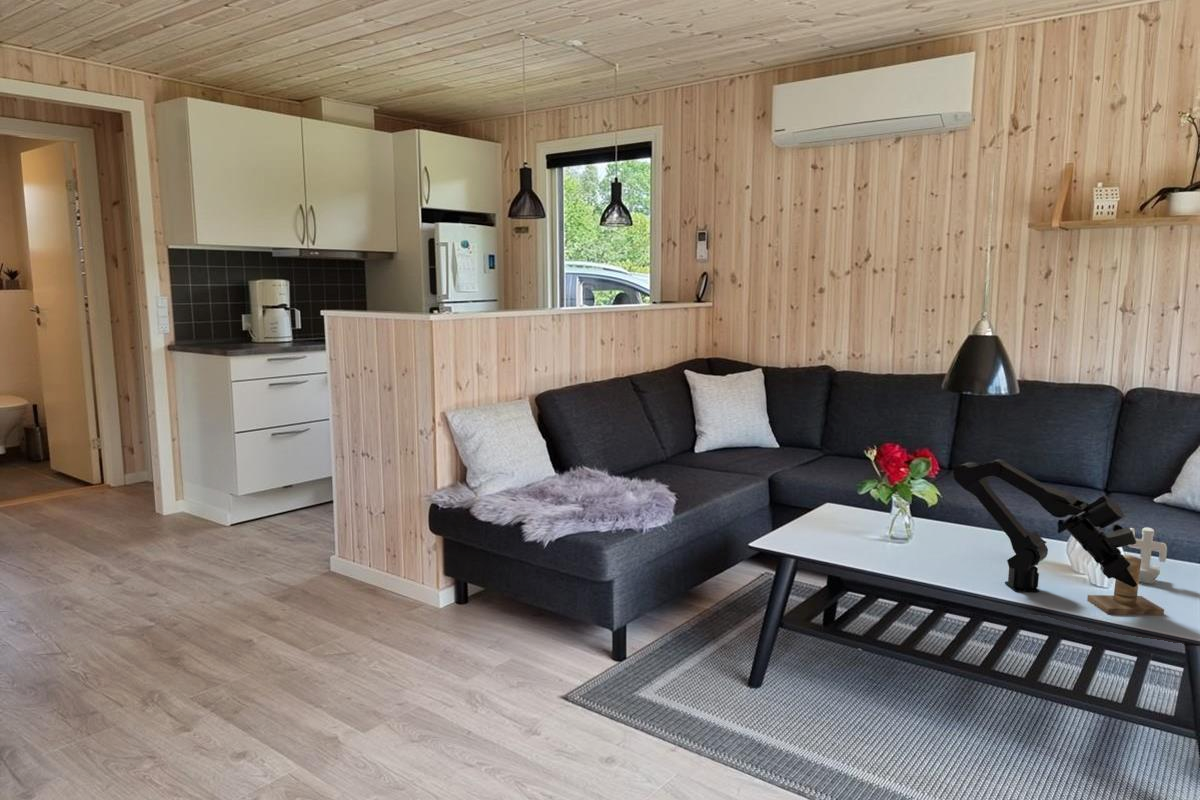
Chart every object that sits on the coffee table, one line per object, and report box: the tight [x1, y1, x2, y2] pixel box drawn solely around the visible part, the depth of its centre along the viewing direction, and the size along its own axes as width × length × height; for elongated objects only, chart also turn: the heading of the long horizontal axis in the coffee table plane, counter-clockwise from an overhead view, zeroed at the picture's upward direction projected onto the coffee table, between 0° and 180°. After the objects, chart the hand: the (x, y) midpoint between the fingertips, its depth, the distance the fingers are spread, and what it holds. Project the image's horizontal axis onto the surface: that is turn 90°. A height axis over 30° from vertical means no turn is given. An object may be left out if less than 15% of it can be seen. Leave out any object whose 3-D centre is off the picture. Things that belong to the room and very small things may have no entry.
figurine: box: [1127, 526, 1168, 585], centre depth 230 cm, size 7×9×15 cm
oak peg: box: [1113, 554, 1141, 606], centre depth 210 cm, size 5×5×13 cm
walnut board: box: [1087, 594, 1165, 616], centre depth 211 cm, size 14×9×2 cm, turn 89°
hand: (1133, 582), depth 209 cm, fingers closed on oak peg, 5 cm apart
